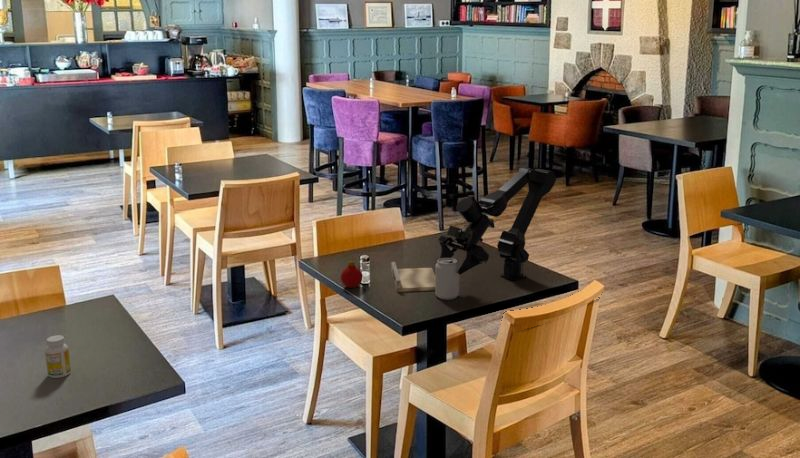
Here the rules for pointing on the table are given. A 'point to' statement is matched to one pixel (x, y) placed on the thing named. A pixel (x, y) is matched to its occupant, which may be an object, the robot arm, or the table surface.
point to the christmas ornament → (351, 275)
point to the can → (447, 278)
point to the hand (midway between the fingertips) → (448, 270)
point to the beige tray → (413, 279)
